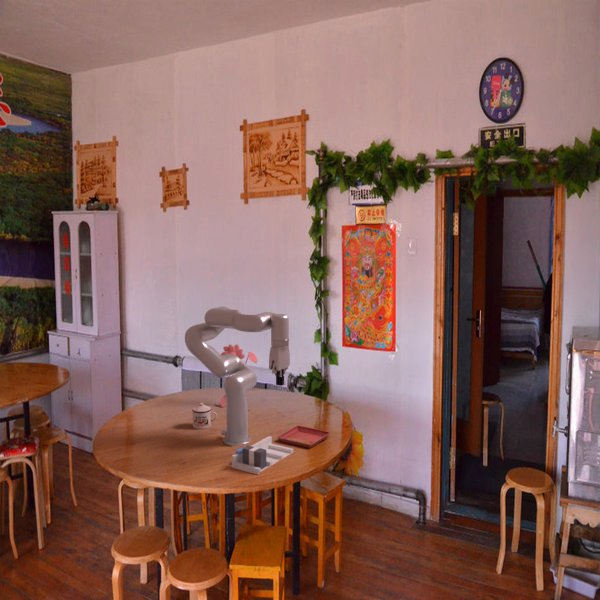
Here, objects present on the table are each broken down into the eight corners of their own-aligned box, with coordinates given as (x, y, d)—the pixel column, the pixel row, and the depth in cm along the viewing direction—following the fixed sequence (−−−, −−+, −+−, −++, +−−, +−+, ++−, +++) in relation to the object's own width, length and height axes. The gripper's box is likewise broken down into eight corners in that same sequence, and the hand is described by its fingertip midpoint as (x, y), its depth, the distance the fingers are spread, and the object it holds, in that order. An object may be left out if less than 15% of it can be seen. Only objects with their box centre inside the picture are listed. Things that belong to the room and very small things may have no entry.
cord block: (242, 465, 241) (242, 448, 241) (248, 461, 245) (248, 445, 244) (260, 470, 237) (260, 452, 236) (266, 466, 240) (266, 449, 239)
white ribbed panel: (231, 467, 240) (231, 452, 240) (268, 446, 263) (268, 433, 262) (258, 474, 234) (257, 459, 233) (293, 452, 256) (293, 439, 255)
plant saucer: (311, 451, 258) (311, 444, 258) (276, 443, 268) (276, 436, 267) (330, 439, 274) (330, 432, 273) (297, 431, 283) (297, 425, 283)
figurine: (211, 403, 326) (210, 341, 321) (258, 404, 325) (258, 341, 320) (206, 413, 311) (205, 347, 306) (255, 413, 310) (255, 348, 305)
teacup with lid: (191, 430, 285) (191, 406, 283) (193, 423, 294) (192, 400, 292) (216, 429, 286) (216, 405, 284) (217, 423, 295) (217, 400, 293)
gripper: (282, 339, 262) (282, 379, 264) (262, 345, 249) (263, 387, 252) (296, 341, 258) (296, 382, 260) (277, 347, 245) (277, 390, 248)
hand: (280, 384), depth 256 cm, fingers closed
